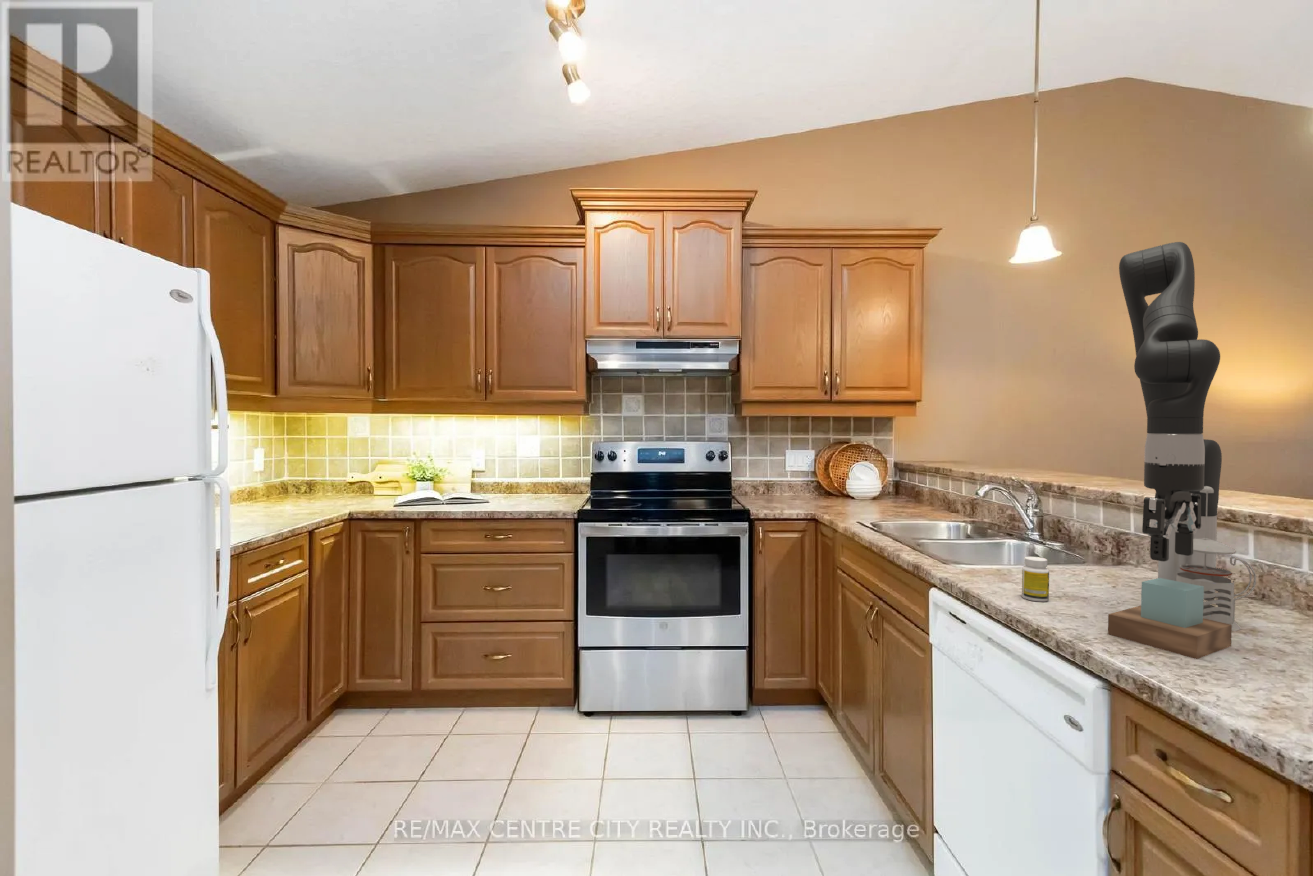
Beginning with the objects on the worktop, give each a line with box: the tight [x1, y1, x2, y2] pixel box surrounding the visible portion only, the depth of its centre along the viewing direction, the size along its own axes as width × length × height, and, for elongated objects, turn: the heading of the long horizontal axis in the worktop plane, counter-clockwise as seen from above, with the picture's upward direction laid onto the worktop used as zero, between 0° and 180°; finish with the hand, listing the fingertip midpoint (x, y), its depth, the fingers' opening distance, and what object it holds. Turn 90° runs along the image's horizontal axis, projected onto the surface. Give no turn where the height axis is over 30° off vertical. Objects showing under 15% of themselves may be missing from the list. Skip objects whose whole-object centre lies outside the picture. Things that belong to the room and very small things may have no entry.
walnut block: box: [1107, 605, 1233, 660], centre depth 98 cm, size 12×12×4 cm
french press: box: [1176, 486, 1257, 632], centre depth 107 cm, size 10×12×25 cm
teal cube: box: [1140, 577, 1204, 628], centre depth 98 cm, size 6×6×6 cm
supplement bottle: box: [1021, 556, 1050, 603], centre depth 121 cm, size 5×5×8 cm
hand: (1171, 557), depth 98 cm, fingers open, 8 cm apart
